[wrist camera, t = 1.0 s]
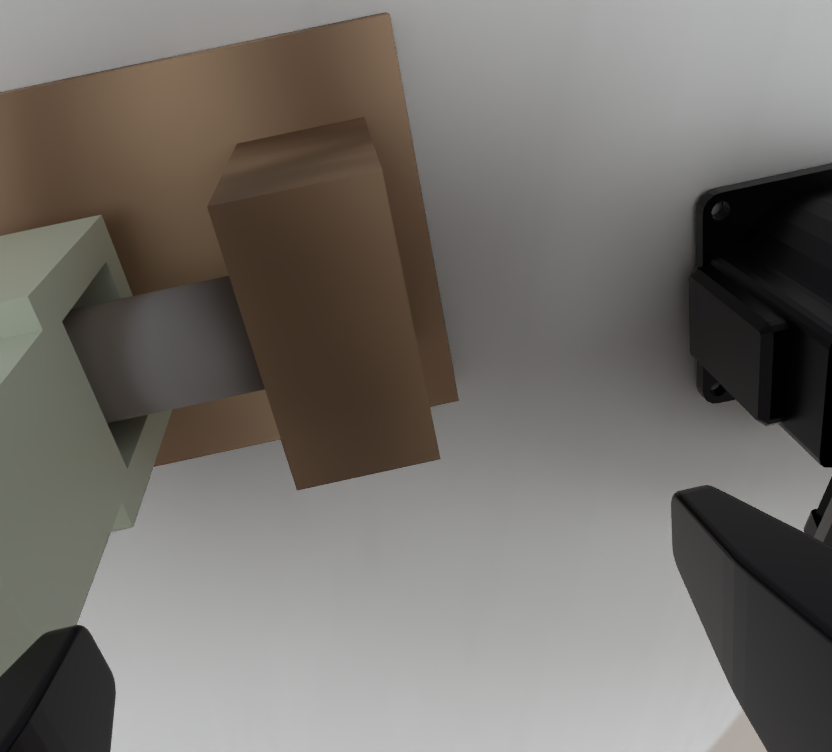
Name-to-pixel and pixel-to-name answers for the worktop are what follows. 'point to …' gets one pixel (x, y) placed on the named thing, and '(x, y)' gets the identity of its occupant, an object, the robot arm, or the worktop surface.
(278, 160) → the pipe stand
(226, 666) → the worktop surface
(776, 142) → the worktop surface
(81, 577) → the sleeve
